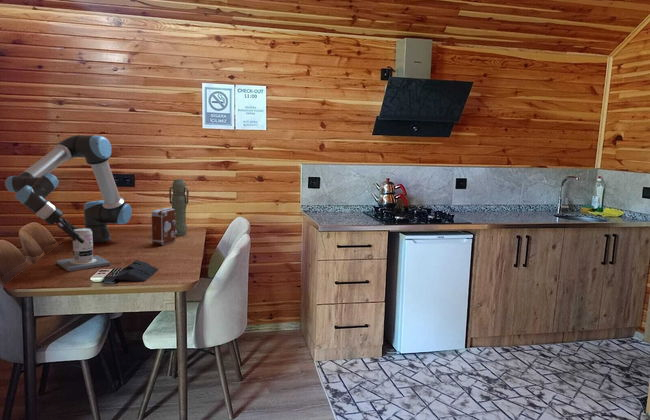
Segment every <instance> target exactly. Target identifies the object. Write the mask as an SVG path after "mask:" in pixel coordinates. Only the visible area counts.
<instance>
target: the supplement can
mask: <svg viewBox="0 0 650 420" xmlns="http://www.w3.org/2000/svg"><path fill="white" fill-rule="evenodd" d="M74 231H75V232H76V233H77V234H78V235H80V236H81V237H82V238H84V239H85V240H86V241H87V242H89V243H90V244H91V246H90V247H89V248H88V249H86V248H85V247H83V246H82V245H81V244H80V243H78V242H77V241H76V240H75V241H73V240H72V252H73V253H72V255H73V257H72V258H74V261H75V262H77V263H85V262H90V261H92V260H93V256H94V243H93V238H92V231H91V229H89V228H85V227H83V228H79V229H74Z"/></svg>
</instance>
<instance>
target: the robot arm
mask: <svg viewBox="0 0 650 420" xmlns="http://www.w3.org/2000/svg"><path fill="white" fill-rule="evenodd" d="M112 149H113V148H112V144H111V143H110V140H109V139H108V138H107V137H105V136H102V135H80V134H77V135H72V136H70V137H66V138H65V139H63V140H61V141H59V142H58V143H56V145H54V146H53V149H52V150H51V151H49V152H48V153H47V154H46V155H44V156H43V157H41V158H40V159H39V160H37V161H35V163H33V164H32V165H31V166H29V167H28V168H26V169H25V170H24V171H22V172H21V173H19V174H18V175H10V176H8V177H7V178H5V182H4V186H5V189H7V191H8V192H11V193H15V195H14V197H15V199H16V200H17V201H19V202H20V204H21V205H24V207H26V208H27V209H28V210H30V211H31V212H33V213H34V214H35V215H36V217H37V218H41V220H44V222H46V223H47V224H48V225H49V226H52V225H54V224H55V223H56V224H57V227H58V228H59V229H61V230H62V231H63V232H64V233H66V235H68V236H69V237H70V238H71V239H72V242H73V241H75V240H76V241H77V242H78V243H80V244H81V245H82V246H83V247H85V248H86V249H88V248H89V247H90V246H91V244H90V243H89V242H87V241H86V240H85V239H84V238H82V237H81V236H80V235H78V234H77V233H76V232H75V231H74V229H80V228H79V227H76V226H75V225H73V224H72V223H70V222H69V221H67V219H65V218H64V217H62V216H63V215H64V212H62V211H61V210H60V209H59V208H56V205H54V204H53V203H51V201H49V200H47V197H48V196H49V195H50V194H51V193H52V192H54V190H55V189H56V188H57V187H58V186H59V179H58V178H57V176H56V175H54V174H52V173H51V172H53V171H54V170H55V169H57V168H58V167H59V166H60V165H62V164H63V163H64V162H69V161H70V160H71V159H74V158H82V159H83V158H84V159H85V163H86V164H87V165H89V166H90V168H91V169H92V172H93V175H94V177H95V180H96V182H97V185H98V188H99V191H100V194H101V197H102V199H103V200H101V199H100V200H92V201H87V202H85V203H84V205H83V214H84V215H83V216H84V228H89V229H91V231H92V238H93V244H95V243H104V242H108V241H110V240H111V239H112V238H111V237H112V236H111V234H110V231H109V229H108V228H109V227H108V224H112V225H113V224H115V225H125V224H126V225H127V223H129V221H130V220H131V218H132V214H133V213H132V212H133V209H132V206H131V205H130V204H129V203H126V202H125V199H124V198H123V197H121V196H120V193H119V189H118V187H117V184H116V182H115V178H114V175H113V172H112V170H111V166H110V163H109V161H110V159H111V155H112Z"/></svg>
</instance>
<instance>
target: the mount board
mask: <svg viewBox="0 0 650 420" xmlns="http://www.w3.org/2000/svg"><path fill="white" fill-rule="evenodd" d="M56 263H57V265H59V266H60V267H62V269H64V270H66V271H67V272H68V271H70V272H75V271H81V270H87V269H88V268H90V269H95V268H94V267H97V268H101V267H100V266H103V267H108V266H107V265H110V266H111V262H110V261H108V260H107V259H105V258H103V257H101V256H100V255H98V254H96V255H93V260H92V261H90V262H85V263H77V262H75V261H74V258H73V257H72V258H66V259H58V260H56ZM88 270H89V269H88Z"/></svg>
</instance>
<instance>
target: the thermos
mask: <svg viewBox="0 0 650 420" xmlns="http://www.w3.org/2000/svg"><path fill="white" fill-rule="evenodd" d="M172 181H173V182H172V186H171V187H169V189H168V192H169V195H168V197H169V198H168V199H169V204H170V205H171V208H172V209H174V210H175V221H176V222H175V230H176V231H177V233H176V237H185V236H187V232H188V230H187V229H188V226H187V217H186V216H187V212H186V211H187V210H186V209H187V204H189V201H190V200H189V199H190V198H189V197H190V194H189V193H190V191H189V188H188V187H186V183H185V180H183V179H181V178H180V179H179V178H178V179H174V180H172Z"/></svg>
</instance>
